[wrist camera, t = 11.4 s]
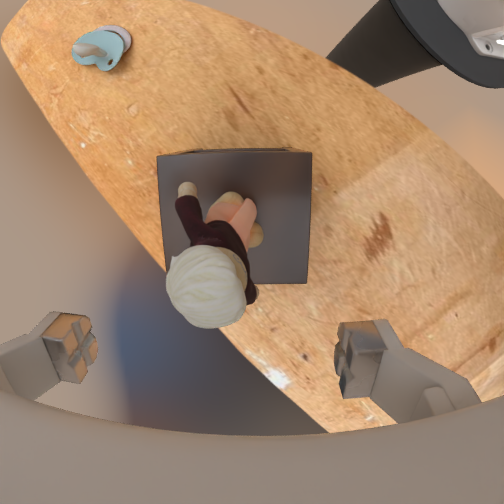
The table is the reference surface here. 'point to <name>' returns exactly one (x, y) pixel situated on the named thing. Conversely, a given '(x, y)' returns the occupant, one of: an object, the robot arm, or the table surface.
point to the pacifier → (101, 47)
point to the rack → (248, 186)
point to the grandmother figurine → (214, 259)
